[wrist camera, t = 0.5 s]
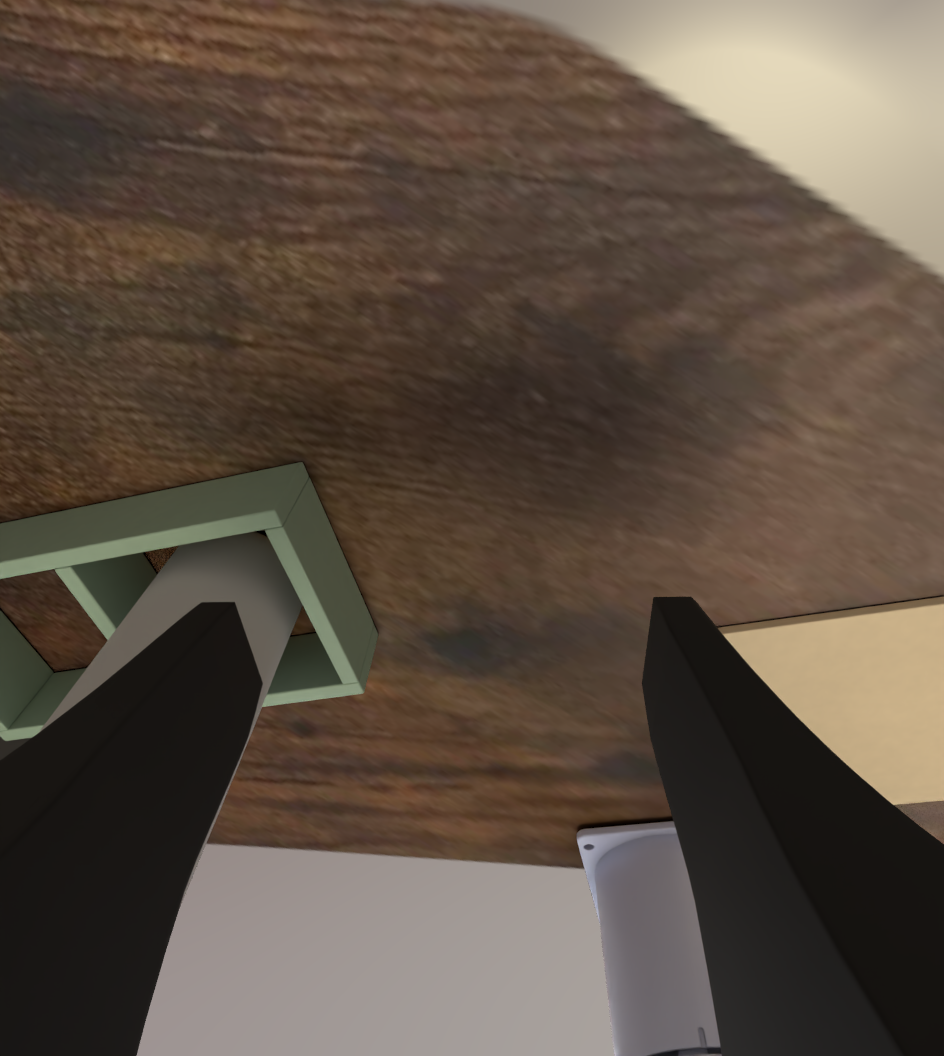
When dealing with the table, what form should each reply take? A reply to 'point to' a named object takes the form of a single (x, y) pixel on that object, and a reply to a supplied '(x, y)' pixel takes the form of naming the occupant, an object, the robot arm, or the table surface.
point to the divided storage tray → (125, 573)
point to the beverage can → (184, 582)
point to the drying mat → (863, 688)
